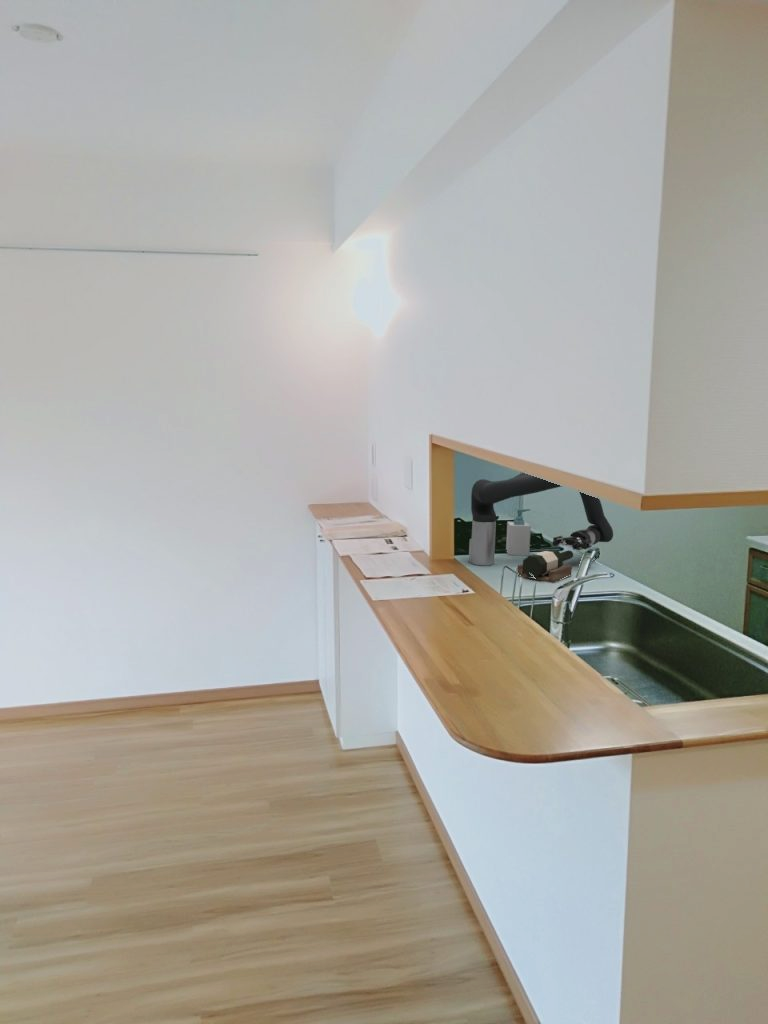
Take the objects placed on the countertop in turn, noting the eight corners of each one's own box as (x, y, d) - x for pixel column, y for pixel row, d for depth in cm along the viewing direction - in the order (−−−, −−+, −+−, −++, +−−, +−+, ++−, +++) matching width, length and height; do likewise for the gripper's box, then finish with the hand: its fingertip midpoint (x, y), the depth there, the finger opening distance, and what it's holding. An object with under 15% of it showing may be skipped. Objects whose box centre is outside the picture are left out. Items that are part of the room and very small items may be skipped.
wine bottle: (536, 582, 289) (574, 568, 311) (545, 563, 286) (583, 550, 308) (518, 570, 293) (557, 557, 316) (527, 551, 290) (566, 539, 312)
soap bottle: (529, 555, 330) (532, 510, 327) (508, 555, 330) (510, 510, 327) (526, 551, 338) (528, 507, 335) (505, 550, 338) (508, 506, 335)
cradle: (517, 575, 296) (517, 565, 295) (535, 569, 307) (536, 559, 306) (553, 582, 287) (554, 572, 286) (571, 575, 297) (571, 565, 297)
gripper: (566, 527, 322) (547, 533, 310) (599, 532, 314) (581, 538, 301) (565, 545, 324) (546, 551, 311) (598, 551, 315) (580, 557, 302)
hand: (563, 545), depth 306 cm, fingers open, 8 cm apart
